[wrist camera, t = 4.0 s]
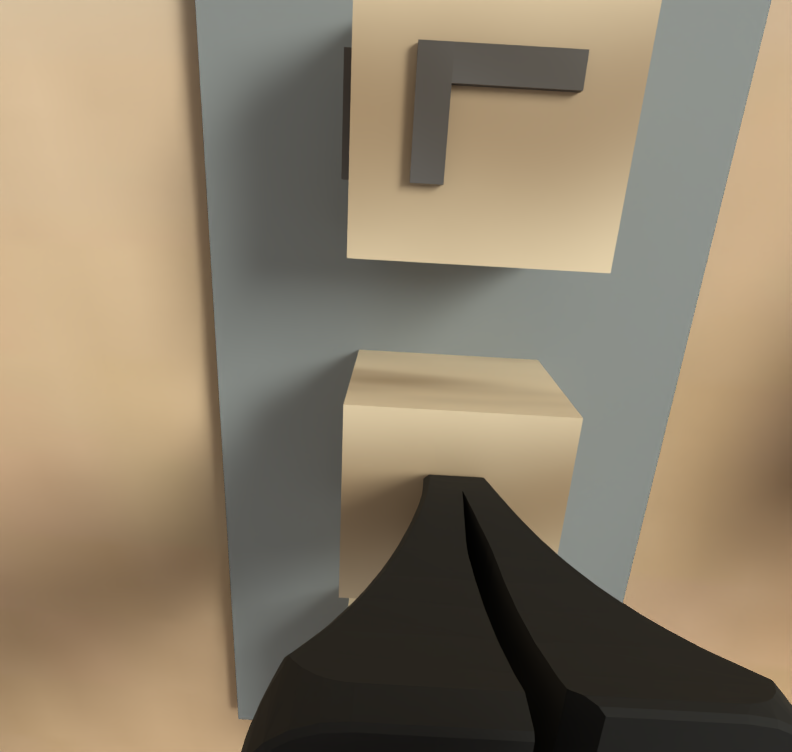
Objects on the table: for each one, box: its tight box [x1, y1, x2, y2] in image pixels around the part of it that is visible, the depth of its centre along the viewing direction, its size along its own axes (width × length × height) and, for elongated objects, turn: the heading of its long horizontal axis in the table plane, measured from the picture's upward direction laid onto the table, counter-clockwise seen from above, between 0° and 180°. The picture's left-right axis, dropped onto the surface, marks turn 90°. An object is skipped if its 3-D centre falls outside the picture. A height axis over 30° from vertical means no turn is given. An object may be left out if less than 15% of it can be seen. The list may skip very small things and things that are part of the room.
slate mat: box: [195, 0, 771, 720], centre depth 16 cm, size 24×13×1 cm, turn 177°
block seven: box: [341, 0, 662, 273], centre depth 11 cm, size 5×5×4 cm
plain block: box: [339, 350, 583, 599], centre depth 14 cm, size 5×5×4 cm
